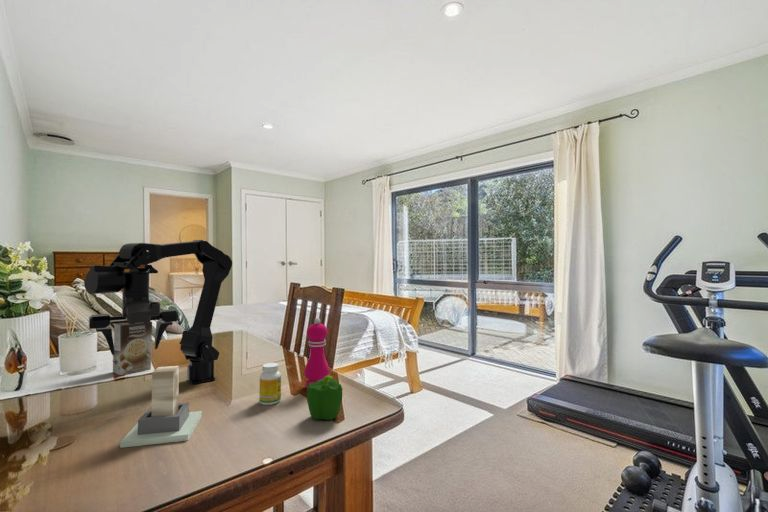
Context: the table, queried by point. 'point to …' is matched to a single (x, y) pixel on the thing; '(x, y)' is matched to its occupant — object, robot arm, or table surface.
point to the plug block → (165, 391)
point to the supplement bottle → (270, 384)
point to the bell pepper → (324, 398)
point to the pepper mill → (316, 353)
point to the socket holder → (162, 428)
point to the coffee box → (132, 347)
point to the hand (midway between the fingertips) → (135, 351)
